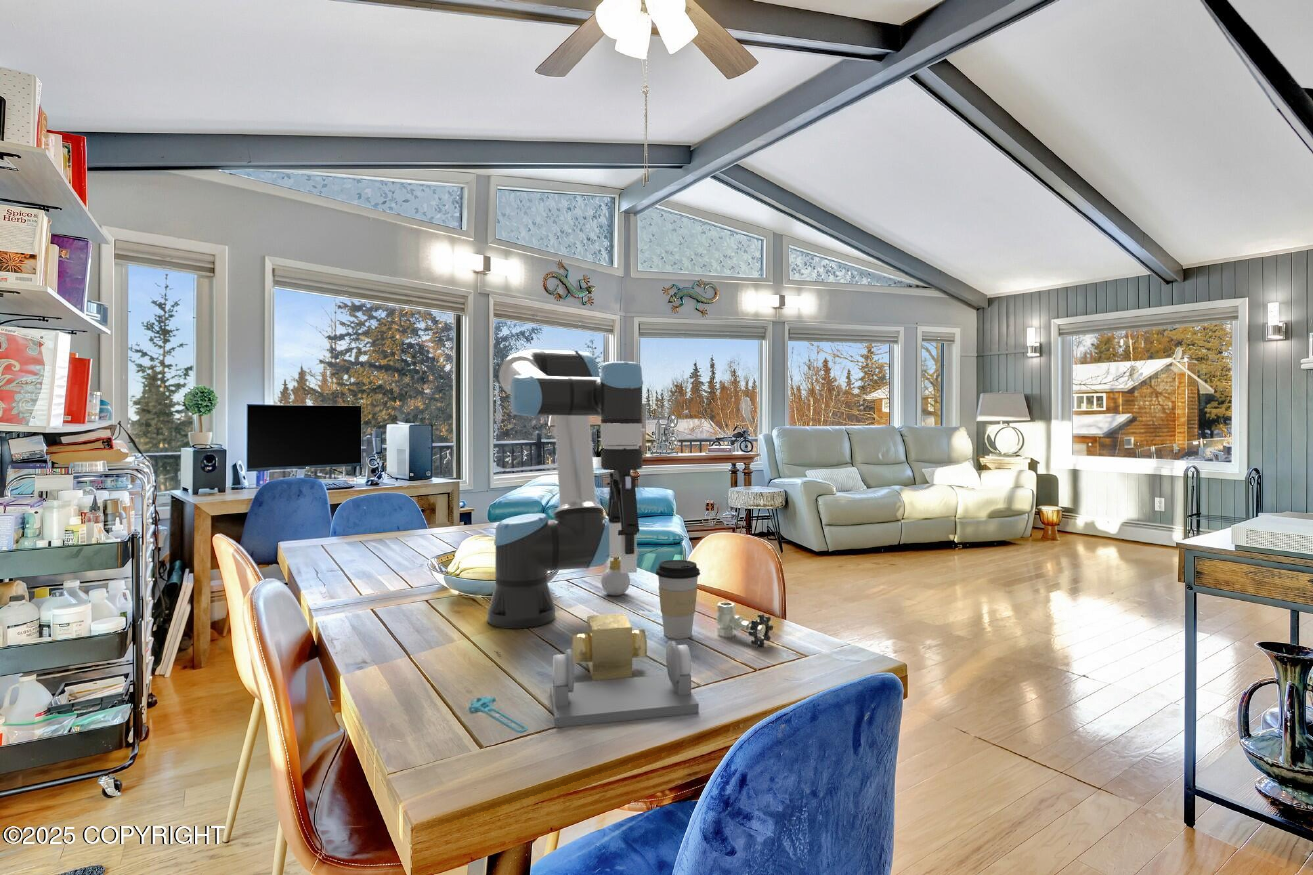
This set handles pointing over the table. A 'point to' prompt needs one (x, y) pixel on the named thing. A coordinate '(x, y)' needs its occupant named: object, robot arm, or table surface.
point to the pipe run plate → (622, 693)
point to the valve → (741, 624)
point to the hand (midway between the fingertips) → (622, 564)
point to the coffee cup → (677, 596)
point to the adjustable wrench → (486, 706)
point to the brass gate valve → (609, 646)
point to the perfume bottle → (615, 578)
